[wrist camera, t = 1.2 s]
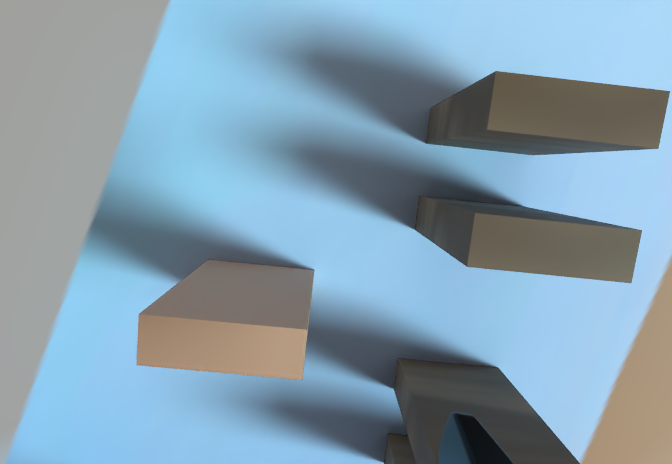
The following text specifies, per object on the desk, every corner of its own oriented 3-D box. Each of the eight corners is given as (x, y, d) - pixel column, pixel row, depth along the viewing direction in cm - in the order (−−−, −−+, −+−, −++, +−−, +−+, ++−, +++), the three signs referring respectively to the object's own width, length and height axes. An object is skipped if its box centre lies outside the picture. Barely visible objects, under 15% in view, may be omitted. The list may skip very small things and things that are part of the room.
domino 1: (310, 302, 22) (302, 380, 14) (206, 292, 22) (136, 365, 14) (314, 269, 22) (307, 329, 14) (208, 259, 21) (139, 313, 13)
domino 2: (533, 155, 21) (658, 148, 13) (426, 143, 21) (487, 129, 13) (539, 119, 21) (669, 91, 13) (431, 107, 21) (495, 71, 13)
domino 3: (519, 240, 22) (631, 283, 14) (414, 229, 21) (466, 266, 13) (524, 206, 21) (641, 230, 13) (419, 195, 21) (474, 213, 13)
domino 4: (493, 397, 23) (582, 522, 15) (393, 389, 22) (430, 510, 15) (498, 367, 22) (591, 477, 15) (397, 358, 22) (437, 464, 14)
